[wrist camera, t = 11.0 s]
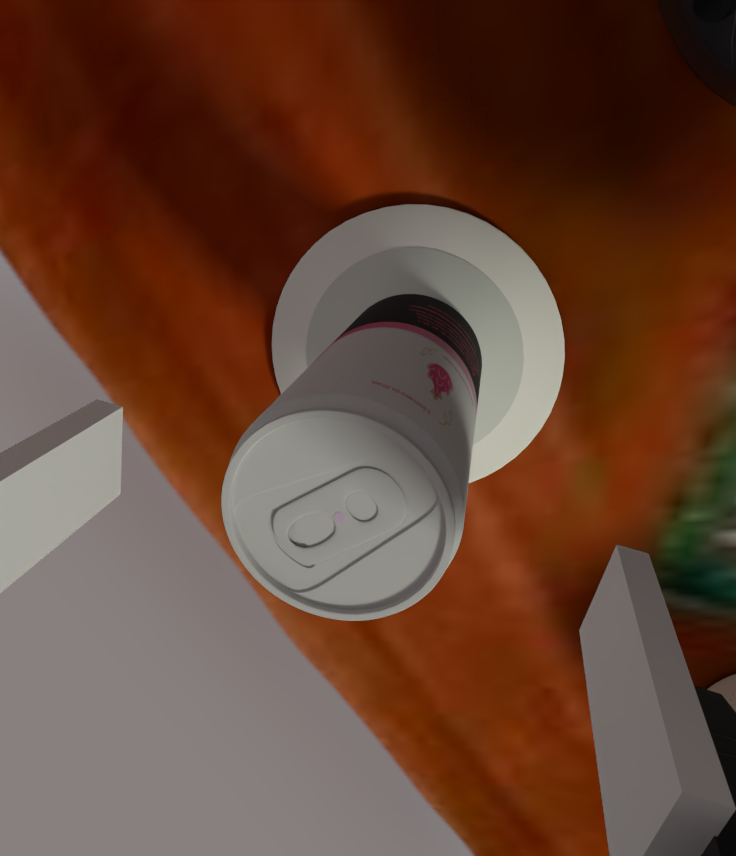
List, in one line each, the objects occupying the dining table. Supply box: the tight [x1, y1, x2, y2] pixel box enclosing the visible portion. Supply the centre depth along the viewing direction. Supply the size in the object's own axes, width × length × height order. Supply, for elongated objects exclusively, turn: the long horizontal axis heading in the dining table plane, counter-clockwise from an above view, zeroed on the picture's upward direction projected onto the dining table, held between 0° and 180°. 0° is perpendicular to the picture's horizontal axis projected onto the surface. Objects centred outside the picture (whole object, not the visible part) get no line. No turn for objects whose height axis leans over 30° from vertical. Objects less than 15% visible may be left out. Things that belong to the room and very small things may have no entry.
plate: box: [272, 204, 565, 483], centre depth 30 cm, size 14×14×1 cm
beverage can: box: [221, 294, 482, 621], centre depth 23 cm, size 6×6×15 cm
